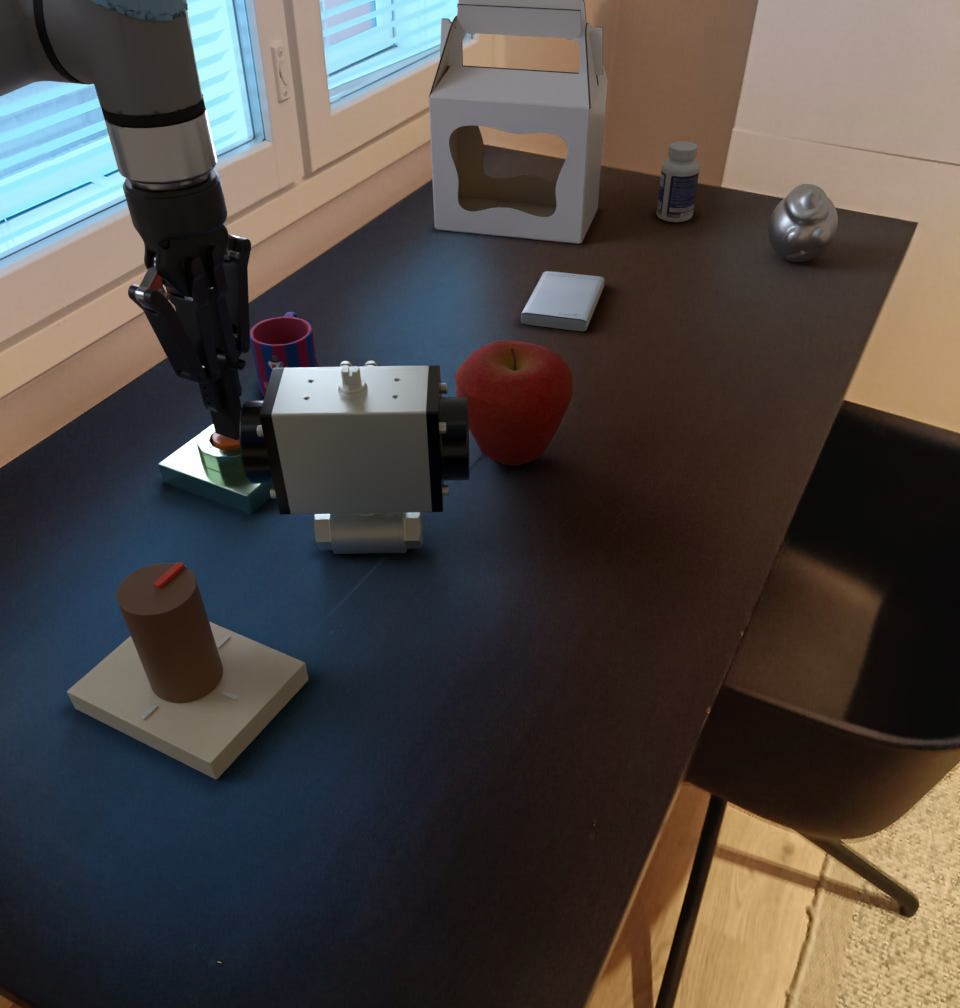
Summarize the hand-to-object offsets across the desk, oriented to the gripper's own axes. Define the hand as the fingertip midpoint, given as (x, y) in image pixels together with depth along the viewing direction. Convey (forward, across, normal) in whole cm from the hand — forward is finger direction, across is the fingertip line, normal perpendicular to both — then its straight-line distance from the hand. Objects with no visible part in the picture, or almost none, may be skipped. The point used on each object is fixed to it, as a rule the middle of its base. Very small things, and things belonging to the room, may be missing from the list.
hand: (231, 432), depth 89 cm
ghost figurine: (+5, -75, +35) cm, 83 cm away
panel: (+5, +25, +16) cm, 30 cm away
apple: (+5, -15, +23) cm, 28 cm away
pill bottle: (+5, -82, +15) cm, 83 cm away
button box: (+5, 0, 0) cm, 5 cm away
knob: (+3, +25, +16) cm, 30 cm away
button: (+2, 0, 0) cm, 2 cm away
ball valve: (+5, +3, +18) cm, 19 cm away
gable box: (+5, -70, -5) cm, 70 cm away
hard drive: (+5, -48, +13) cm, 50 cm away
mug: (+5, -17, -6) cm, 19 cm away
